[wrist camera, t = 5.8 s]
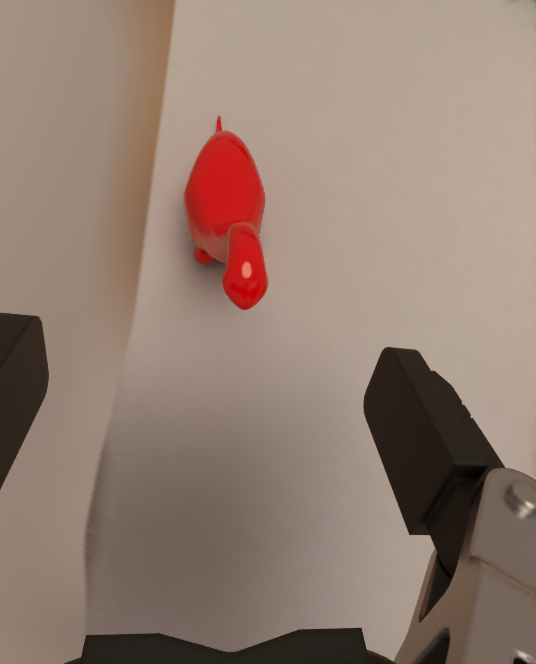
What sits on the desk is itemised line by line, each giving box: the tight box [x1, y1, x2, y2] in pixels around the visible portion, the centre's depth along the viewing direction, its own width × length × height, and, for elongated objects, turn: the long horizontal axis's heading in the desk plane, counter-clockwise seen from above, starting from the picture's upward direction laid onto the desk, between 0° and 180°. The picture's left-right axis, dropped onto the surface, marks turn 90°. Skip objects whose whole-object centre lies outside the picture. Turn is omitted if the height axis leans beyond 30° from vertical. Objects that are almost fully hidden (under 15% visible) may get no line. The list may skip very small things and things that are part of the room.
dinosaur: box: [184, 116, 268, 310], centre depth 19 cm, size 4×15×12 cm, turn 1°
